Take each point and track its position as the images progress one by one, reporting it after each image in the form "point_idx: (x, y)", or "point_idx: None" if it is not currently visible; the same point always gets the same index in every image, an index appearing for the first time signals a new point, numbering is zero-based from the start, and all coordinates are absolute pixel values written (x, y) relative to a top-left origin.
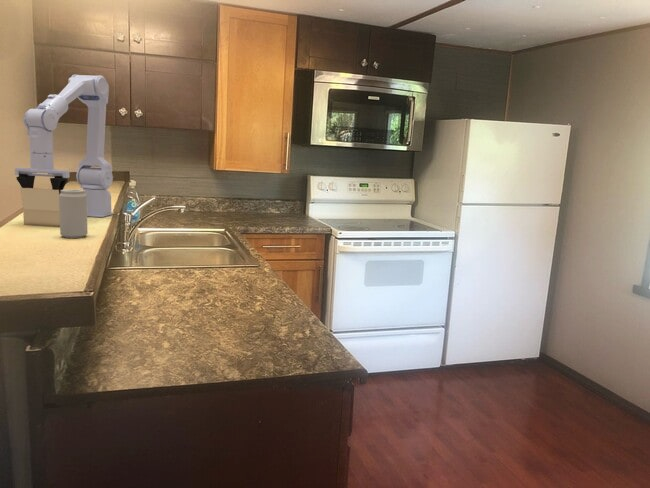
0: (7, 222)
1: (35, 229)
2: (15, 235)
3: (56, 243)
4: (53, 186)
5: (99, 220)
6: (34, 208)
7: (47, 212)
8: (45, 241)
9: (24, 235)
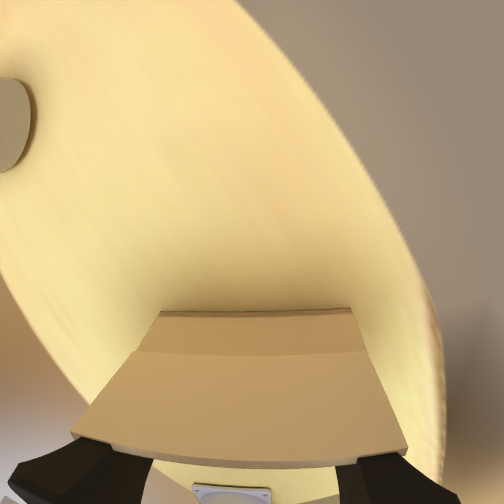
0: (434, 326)
1: (216, 200)
2: (193, 16)
3: (10, 6)
4: (84, 457)
5: None
6: (291, 358)
7: (215, 353)
8: (41, 2)
9: (158, 34)
